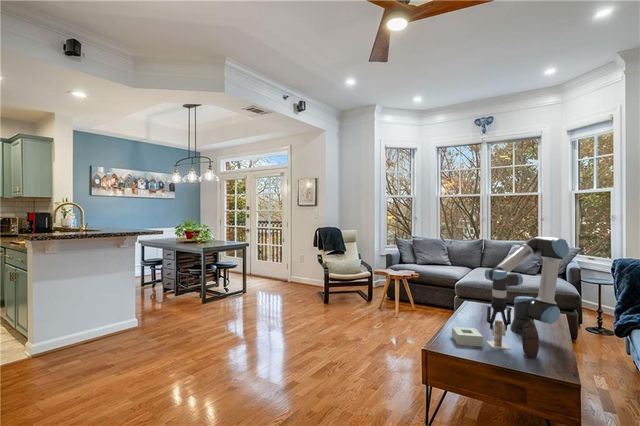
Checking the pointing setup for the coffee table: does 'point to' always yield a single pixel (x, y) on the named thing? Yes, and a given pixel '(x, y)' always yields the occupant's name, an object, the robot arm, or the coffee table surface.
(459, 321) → the coffee table surface
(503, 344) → the coaster
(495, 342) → the peg
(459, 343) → the socket block
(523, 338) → the alarm clock
